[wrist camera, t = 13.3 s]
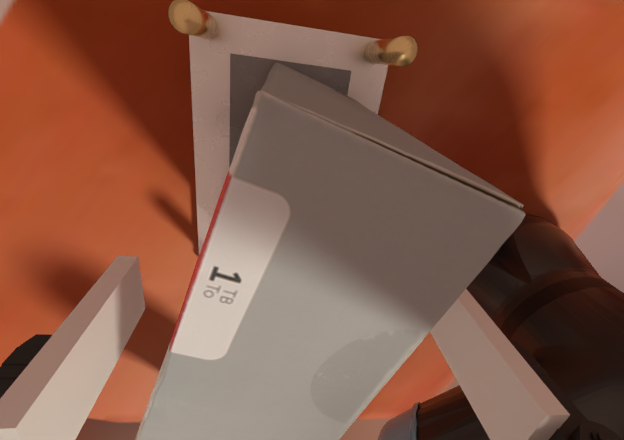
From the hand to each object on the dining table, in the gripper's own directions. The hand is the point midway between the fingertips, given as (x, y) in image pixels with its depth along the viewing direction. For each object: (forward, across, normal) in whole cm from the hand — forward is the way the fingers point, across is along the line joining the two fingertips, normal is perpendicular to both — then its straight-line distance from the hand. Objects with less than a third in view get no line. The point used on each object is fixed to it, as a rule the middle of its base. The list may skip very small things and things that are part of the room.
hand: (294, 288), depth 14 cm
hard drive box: (+16, 0, 0) cm, 16 cm away
